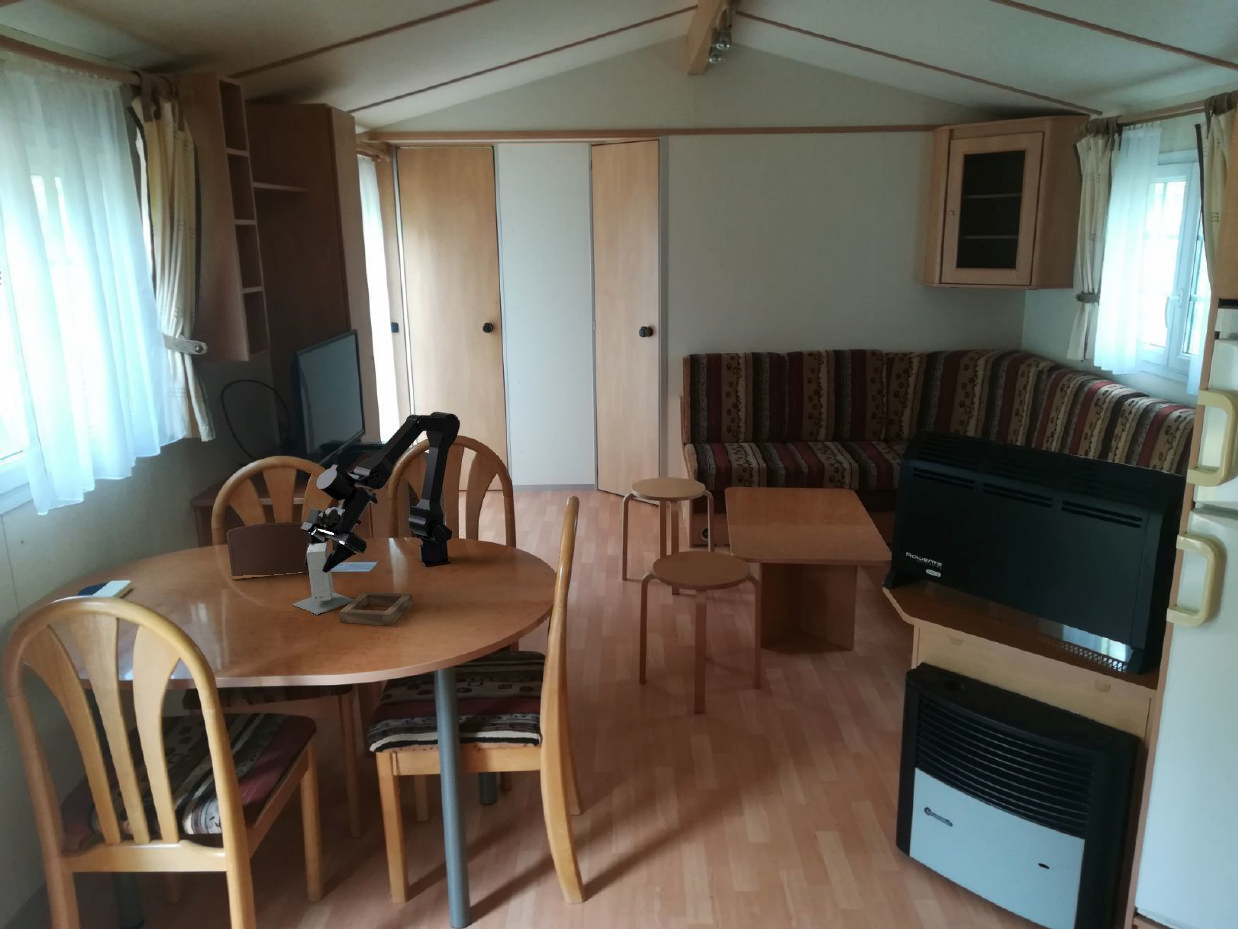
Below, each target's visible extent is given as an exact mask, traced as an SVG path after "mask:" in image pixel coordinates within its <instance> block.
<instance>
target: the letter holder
mask: <svg viewBox="0 0 1238 929" xmlns="http://www.w3.org/2000/svg"><path fill="white" fill-rule="evenodd" d="M303 523H304V522H296V521H294V522H293V521H290V522H289V521H287V522H286V521H285V522H283V521H281V522H264V523H255V524H249V525H246V526H245V525H244V526H239V527H234V528H231V529H229V530H228V531H227V532H226V541H227V549H228V557H229V565H230V571H231V572H230V573H231V577H232V576H243V575H274V574H286V573H298V572H309V568H308V567H307V566H305V565H304V561H305V556H306V552H307V547H308V539H307V536H306V535H305V532H304V531H303V530H301V529H300V528H301V527H302V525H303Z"/></svg>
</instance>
